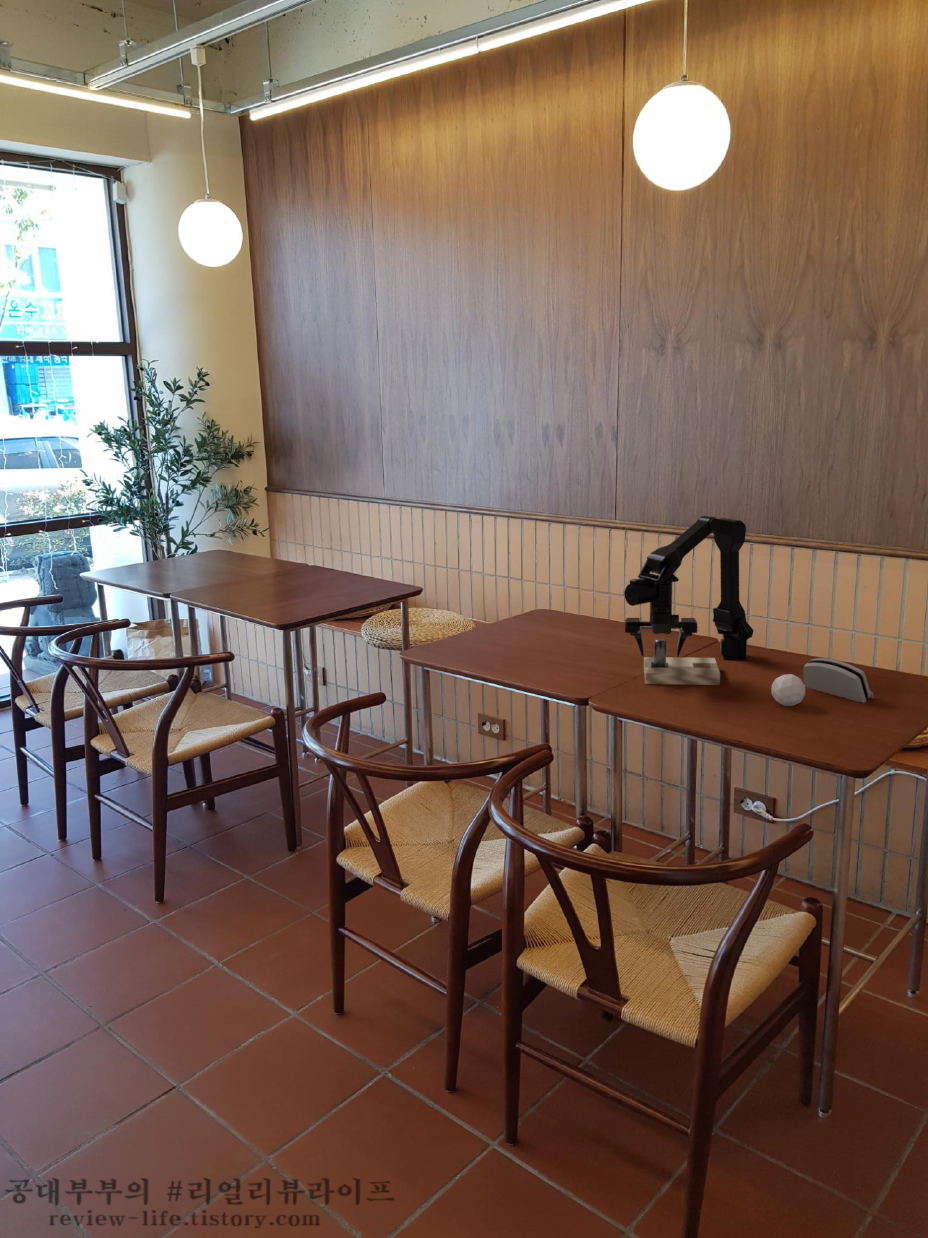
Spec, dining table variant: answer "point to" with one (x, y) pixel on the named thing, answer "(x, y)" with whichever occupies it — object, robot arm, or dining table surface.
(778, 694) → the geometric ball
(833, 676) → the grey napkin holder
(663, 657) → the pin
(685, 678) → the dock board
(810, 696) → the dining table surface
